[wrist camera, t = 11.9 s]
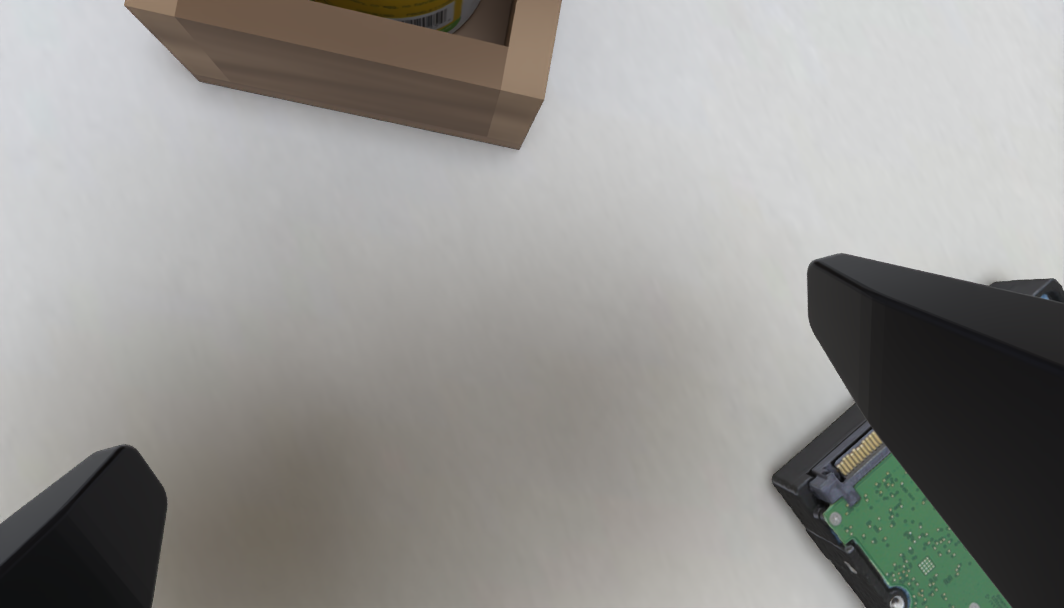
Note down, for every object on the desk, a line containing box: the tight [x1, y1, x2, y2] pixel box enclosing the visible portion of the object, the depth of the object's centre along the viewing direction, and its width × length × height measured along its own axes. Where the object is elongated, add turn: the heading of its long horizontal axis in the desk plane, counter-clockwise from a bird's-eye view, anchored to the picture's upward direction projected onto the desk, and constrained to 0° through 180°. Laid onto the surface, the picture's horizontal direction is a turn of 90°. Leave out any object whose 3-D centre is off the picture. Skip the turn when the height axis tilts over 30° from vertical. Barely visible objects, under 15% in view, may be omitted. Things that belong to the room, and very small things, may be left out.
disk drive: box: [772, 278, 1064, 608], centre depth 21 cm, size 10×3×15 cm
